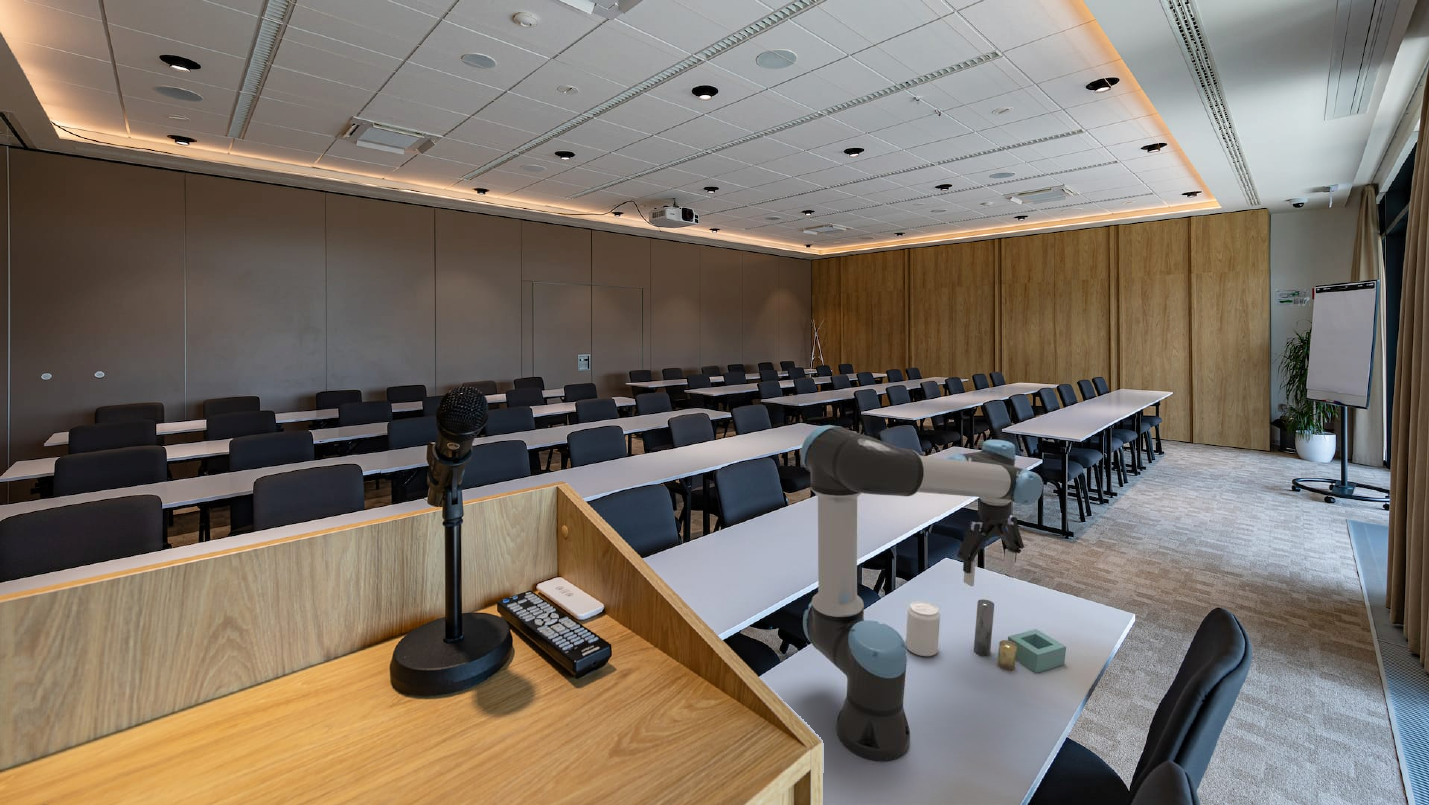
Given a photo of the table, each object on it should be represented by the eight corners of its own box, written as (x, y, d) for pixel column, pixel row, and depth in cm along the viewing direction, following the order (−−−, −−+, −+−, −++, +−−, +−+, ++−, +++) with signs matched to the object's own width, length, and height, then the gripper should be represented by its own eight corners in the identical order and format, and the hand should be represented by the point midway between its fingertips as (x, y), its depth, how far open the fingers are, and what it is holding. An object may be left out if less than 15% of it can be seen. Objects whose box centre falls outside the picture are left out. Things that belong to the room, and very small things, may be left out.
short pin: (1006, 672, 152) (1008, 650, 151) (993, 663, 156) (995, 642, 155) (1018, 668, 154) (1020, 647, 153) (1005, 660, 157) (1007, 639, 156)
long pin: (981, 658, 158) (986, 608, 156) (970, 649, 162) (974, 601, 160) (993, 654, 160) (997, 605, 157) (981, 646, 163) (985, 598, 161)
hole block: (1035, 673, 152) (1037, 654, 151) (1006, 653, 160) (1008, 636, 159) (1064, 664, 156) (1066, 646, 155) (1034, 646, 164) (1035, 628, 163)
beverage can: (939, 660, 157) (942, 617, 155) (907, 656, 159) (909, 613, 157) (935, 643, 165) (937, 601, 163) (904, 639, 167) (906, 598, 165)
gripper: (968, 512, 146) (962, 594, 149) (1043, 499, 155) (1036, 576, 159) (945, 502, 153) (940, 581, 156) (1019, 490, 162) (1012, 565, 166)
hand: (988, 579), depth 157 cm, fingers open, 13 cm apart
